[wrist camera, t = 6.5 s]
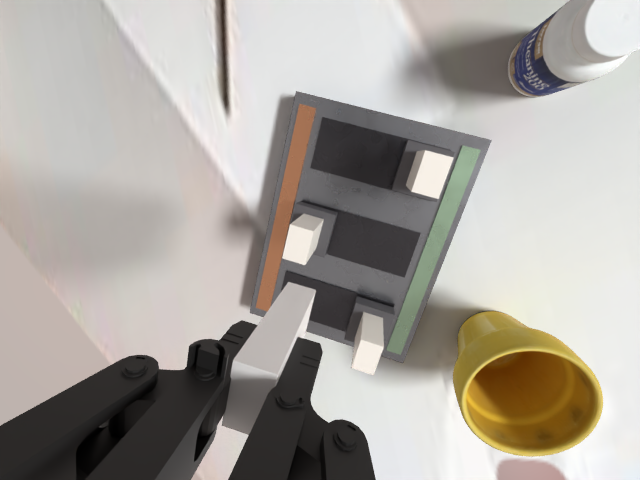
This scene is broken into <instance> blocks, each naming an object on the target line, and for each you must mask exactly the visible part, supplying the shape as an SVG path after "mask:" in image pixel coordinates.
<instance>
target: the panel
mask: <svg viewBox="0 0 640 480" xmlns="http://www.w3.org/2000/svg"><path fill="white" fill-rule="evenodd" d="M407 140H411V141H414V142H418V143H422V144H426V145H430V146H434V147H438V148H442V149H446V150H449V151H453V152H455V153H454V156H453V161H452V164H451V166H450V169H449V172H448V175H447V177H446V180H445V183H444V185H443V188H442V191H441V194H440V196H439V199H438V200H437V202H434V201H430V200H426V199H423V198H419V197H415V196H412V195H408V194H404V193H401V192H397V191H394V190H392V189H391V188H392V185H393V181H394V178H395V175H396V172H397V169H398V166H399V163H400V160H401V156H402V153H403V150H404V147H405V144H406V141H407ZM490 143H491V140H489V139H485V138H481V137H477V136H473V135H469V134H465V133H461V132H457V131H453V130H449V129H445V128H441V127H437V126H433V125H429V124H425V123H421V122H417V121H413V120H409V119H405V118H401V117H397V116H393V115H389V114H385V113H381V112H377V111H373V110H369V109H365V108H361V107H357V106H353V105H349V104H345V103H341V102H337V101H333V100H329V99H325V98H321V97H317V96H313V95H309V94H305V93H301V92H297V91H296V95H295V100H294V104H293V109H292V114H291V119H290V123H289V128H288V133H287V138H286V143H285V147H284V152H283V157H282V162H281V166H280V171H279V176H278V181H277V185H276V190H275V195H274V200H273V204H272V209H271V214H270V219H269V224H268V228H267V233H266V238H265V243H264V247H263V252H262V257H261V262H260V266H259V271H258V276H257V281H256V285H255V290H254V295H253V300H252V305H251V309H250V313H252V314H255V315H258V316H261V317H264V316H265V314H266V313H267V311H268V310H269V309H270V307H271V306H272V304H273V303H274V302H275V300H276V299H277V297H278V296H279V294H280V293H281V292H282V290H283V289H284V287H285V286H286V285H287V283H288V282H291V283H294V284H298V285H301V286H304V287H308V288H311V289H315V290H316V292H315V297H314V301H313V305H312V309H311V313H310V317H309V321H308V325H307V329H306V331H307V332H310V333H313V334H316V335H319V336H322V337H325V338H328V339H331V340H334V341H337V342H340V343H343V344H346V345H350V346H353V347H354V343H353V342H350V341H347V340H344V337H345V331H346V328H347V325H348V322H349V319H350V316H351V313H352V310H353V306H354V303H355V300H356V297H357V296H358V297H362V298H365V299H368V300H371V301H374V302H378V303H381V304H384V305H387V306H390V307H394V311H395V316H394V319H393V322H392V324H391V327H390V330H389V333H388V335H387V338H386V341H385V343H384V348H383V351H382V353H381V356H383V357H386V358H389V359H392V360H395V361H398V362H401V363H403V362H404V359H405V357H406V354H407V352H408V349H409V347H410V344H411V342H412V339H413V337H414V334H415V331H416V329H417V326H418V324H419V321H420V319H421V316H422V314H423V311H424V309H425V306H426V304H427V301H428V299H429V296H430V294H431V291H432V289H433V286H434V284H435V281H436V279H437V276H438V274H439V271H440V269H441V266H442V264H443V261H444V259H445V256H446V254H447V251H448V249H449V246H450V243H451V241H452V238H453V236H454V233H455V231H456V228H457V226H458V223H459V221H460V218H461V216H462V213H463V211H464V208H465V206H466V203H467V201H468V198H469V196H470V193H471V191H472V188H473V186H474V183H475V181H476V178H477V176H478V173H479V171H480V168H481V166H482V163H483V160H484V158H485V155H486V153H487V150H488V148H489V145H490ZM299 201H300V202H304V203H307V204H311V205H314V206H318V207H321V208H325V209H328V210H332V211H335V212H338V214H337V218H336V221H335V225H334V228H333V232H332V236H331V239H330V243H329V247H328V250H327V253H326V255H325V257H324V258H323V257H320V256H317V255H313V254H312V255H311V257H310V258H309V260H308V262H307V263H306V265H302V264H299V263H296V262H293V261H289V260H286V259H283V258H282V257H283V252H284V248H285V244H286V239H287V235H288V231H289V227H290V224H291V221H292V217H293V212H294V208H295V204H296V203H297V202H299Z"/></svg>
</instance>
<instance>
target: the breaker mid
mask: <svg viewBox="0 0 640 480" xmlns="http://www.w3.org/2000/svg"><path fill="white" fill-rule="evenodd" d="M337 214H338V212H335V211H332V210H328V209H325V208H321V207H318V206H314V205H311V204H307V203H304V202H300V201H299V202H297V203H296V204H295V208H294V212H293V217H292V221H291V224H290V227H289V231H288V235H287V239H286V244H285V248H284V252H283V257H282V258H283V259H286V260H289V261H293V262H296V263H299V264H302V265H306V263H307V262H308V260H309V258H310V257H311V255H312V254H313V255H317V256H320V257H323V258H324V257H325V255H326V253H327V250H328V247H329V243H330V239H331V236H332V232H333V228H334V225H335V221H336V218H337Z"/></svg>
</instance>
